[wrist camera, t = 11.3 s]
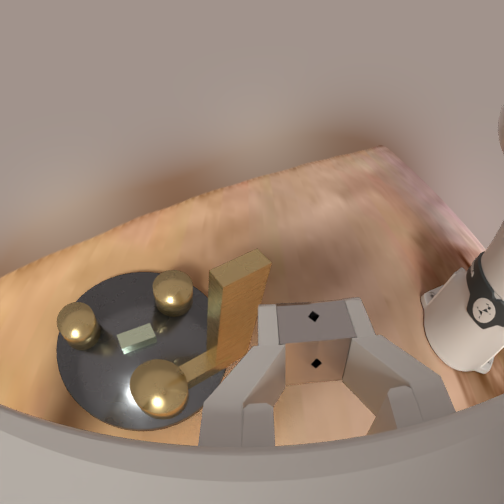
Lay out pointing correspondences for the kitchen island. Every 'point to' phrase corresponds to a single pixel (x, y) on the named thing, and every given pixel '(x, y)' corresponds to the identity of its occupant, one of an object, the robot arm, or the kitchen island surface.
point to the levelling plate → (132, 343)
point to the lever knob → (218, 338)
